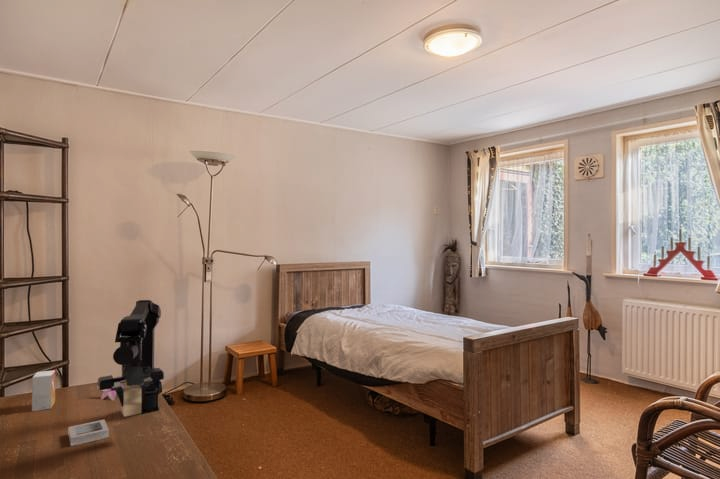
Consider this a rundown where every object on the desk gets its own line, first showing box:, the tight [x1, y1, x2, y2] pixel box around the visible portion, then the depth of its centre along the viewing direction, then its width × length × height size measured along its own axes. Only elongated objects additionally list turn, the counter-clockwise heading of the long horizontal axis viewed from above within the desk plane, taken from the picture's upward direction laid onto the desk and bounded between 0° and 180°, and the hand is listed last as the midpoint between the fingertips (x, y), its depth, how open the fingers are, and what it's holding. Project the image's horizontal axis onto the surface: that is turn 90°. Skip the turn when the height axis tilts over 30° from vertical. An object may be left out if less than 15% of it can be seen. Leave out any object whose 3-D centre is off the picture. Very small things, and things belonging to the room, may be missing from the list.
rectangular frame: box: [67, 419, 110, 447], centre depth 146 cm, size 10×10×2 cm
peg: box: [121, 385, 142, 417], centre depth 144 cm, size 5×5×8 cm
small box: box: [31, 369, 56, 412], centre depth 172 cm, size 8×6×13 cm
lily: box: [96, 373, 126, 401], centre depth 183 cm, size 11×11×9 cm
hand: (131, 404), depth 144 cm, fingers closed on peg, 5 cm apart
